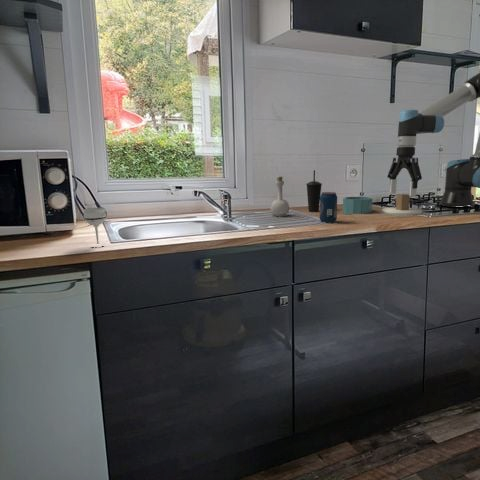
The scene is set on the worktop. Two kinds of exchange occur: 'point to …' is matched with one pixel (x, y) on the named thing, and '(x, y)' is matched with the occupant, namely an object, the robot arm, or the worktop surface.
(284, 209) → the potion bottle
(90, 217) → the wineglass
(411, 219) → the worktop surface
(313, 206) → the drinking cup
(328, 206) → the soda can
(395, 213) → the lid
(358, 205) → the bowl
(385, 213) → the mat
